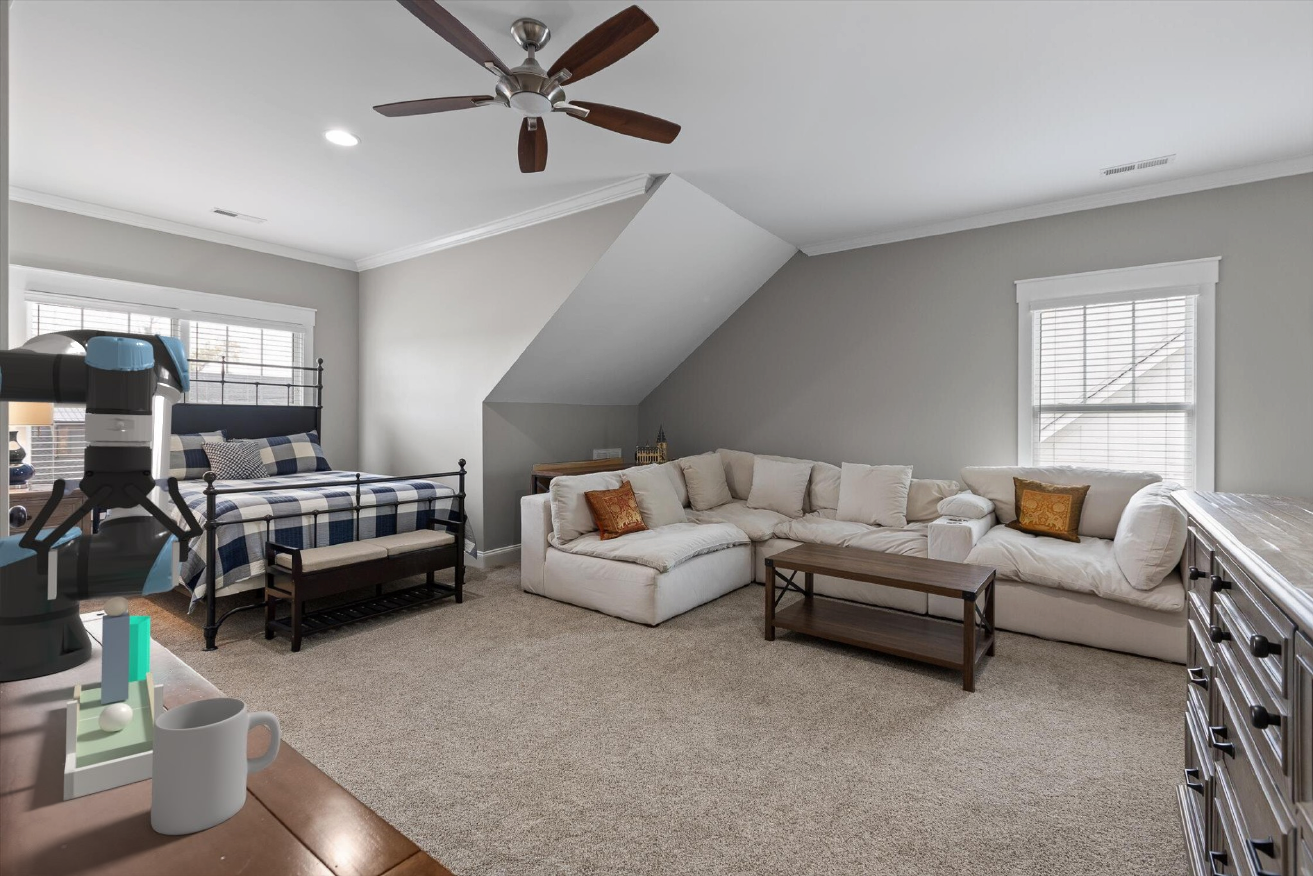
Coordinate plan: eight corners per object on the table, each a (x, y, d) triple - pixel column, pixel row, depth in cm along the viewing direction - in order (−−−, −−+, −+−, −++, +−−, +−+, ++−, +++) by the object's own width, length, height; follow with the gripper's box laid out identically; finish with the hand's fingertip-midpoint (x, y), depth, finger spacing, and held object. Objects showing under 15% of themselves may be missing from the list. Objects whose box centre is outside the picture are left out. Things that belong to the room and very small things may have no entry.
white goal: (66, 776, 77) (67, 701, 77) (161, 753, 83) (163, 683, 82) (63, 801, 72) (64, 721, 72) (165, 774, 78) (166, 700, 78)
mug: (156, 847, 64) (158, 738, 64) (145, 810, 70) (147, 711, 70) (289, 801, 73) (291, 705, 73) (269, 771, 79) (271, 683, 79)
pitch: (74, 705, 96) (75, 685, 96) (151, 690, 101) (151, 672, 101) (66, 776, 77) (66, 751, 77) (161, 753, 83) (161, 730, 82)
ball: (98, 729, 84) (98, 703, 84) (132, 722, 87) (132, 696, 87) (97, 739, 82) (98, 712, 82) (133, 731, 84) (133, 705, 84)
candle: (93, 687, 102) (94, 612, 102) (135, 674, 108) (136, 603, 108) (115, 693, 100) (117, 617, 100) (157, 680, 106) (159, 608, 106)
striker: (101, 697, 93) (102, 596, 93) (127, 692, 95) (129, 593, 95) (101, 704, 91) (102, 600, 91) (128, 699, 93) (130, 597, 93)
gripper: (-8, 444, 82) (-11, 609, 82) (225, 445, 98) (222, 583, 98) (-1, 443, 88) (-3, 598, 88) (219, 444, 104) (216, 575, 104)
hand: (116, 590), depth 93 cm, fingers open, 13 cm apart
